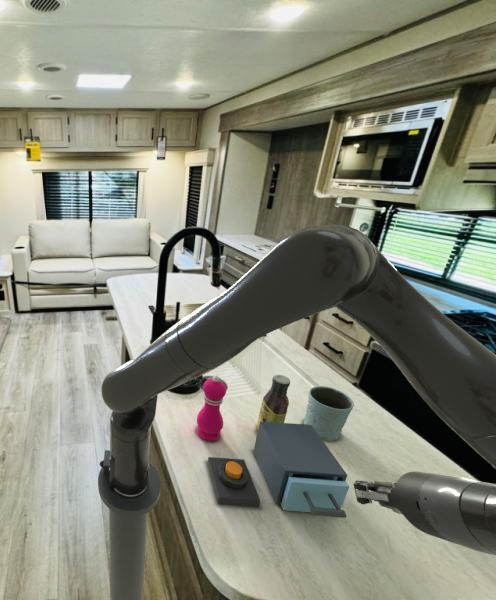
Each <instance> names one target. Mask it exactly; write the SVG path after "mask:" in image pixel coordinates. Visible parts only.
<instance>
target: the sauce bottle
mask: <svg viewBox="0 0 496 600" xmlns="http://www.w3.org/2000/svg"><path fill="white" fill-rule="evenodd" d="M271 381H272V383H271V387H270V389H269V390H268V391H267V392H266V394H265V395H264V396H263V398H262V402H261V406H260V410H259V415H258V418H257V421H256V422H257V423H256V433H258V428H259V424H260V422H275V423H285V421H286V417H287V413H288V408H289V405H290V400H289V397H288V395H287V394H288V389H289V387H290V386H291V385H290V384H291V379H290V378H289V377H288V376H286V375H283V374H275V375H273V377H272V379H271Z"/></svg>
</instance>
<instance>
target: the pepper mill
mask: <svg viewBox="0 0 496 600" xmlns="http://www.w3.org/2000/svg"><path fill="white" fill-rule="evenodd" d="M202 391H203V401H204V404H203V407H202V408H201V409H200V410H199V411H198V413H197V417H196V424H197V426H196V428H197V429H196V432H197V435H198V436H199V437H200V438H201V439H203V440H204V441H207V442H216V441H218V440H219V438H220V437H221V431H222V430H223V427H224V418H223V416H222V413H221V410H220V408H221V405H222V404H223V402H224V401H223V400H224V398H225V396H226V395H227V386H226V385H225V383H224V382H223V381H222V380H221V379H220V377H219V376H218V375H214V376H213V377H212V378H209V379H206V380H205V381H204V383H203V385H202Z"/></svg>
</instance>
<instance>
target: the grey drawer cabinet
mask: <svg viewBox="0 0 496 600" xmlns="http://www.w3.org/2000/svg"><path fill="white" fill-rule="evenodd" d="M252 453H253V455H254V457H255V459H256V462H257V464H258V466H259V468H260V470H261V473H262V475H263V477H264V479H265V482H266V484H267V487H268V489H269V491H270V493H271V496H272V498H273V501H274V502H275V504H276V505H281V503H282V500H283V499H282V493H283V490H284V486H285V483H286V479H287V476H288V473H292V474H305V475H318V476H332V477H338V479H337V481H346V482H347V478H348V474H347V472H346V471H345V470H344V467H343V466H342V465H341V464H340V462H339V461H338V459H337V458H336V457H335V455H334V454H333V453H332V451H331V449H330V448H329V447H328V446H327V445H326V443H325V441H324V440H322V439H321V437H320V436H319V435H318V433H317V432H316V430H315V429H314V428H313V426H312V425H309V424H304V423H292V422H291V423H290V422H284V423H275V422H260V424H259V428H258V432H256V437H255V442H254V447H253V452H252Z"/></svg>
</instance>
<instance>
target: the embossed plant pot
mask: <svg viewBox="0 0 496 600" xmlns="http://www.w3.org/2000/svg"><path fill="white" fill-rule="evenodd" d="M307 398H308V400H307V406H306V409H305V410H306V412H305V417H304V421H303V424H309V425H312V426H313V428H314V429H315V430H316V432H317V433H318V435H319V436H320V437H321V439H322V440H323V441H326V442H335V441H337V440H338V439H339V437H340V436H341V433H342V431H343V430H342V429H343V428H344V427H345V425H346V423H347V420H348V418H349V416H350V414H351V412H352V411H353V408H354V406H355V403H354V401H353V400H352V398H351V397H350V396H349V395H347V394H346V393H344V392H343V391H342V390H339V389H336V388H333V387H330V386H325V385H324V386H323V385H319V386H313V387H311V388H310V389H309V391H308V397H307Z"/></svg>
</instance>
